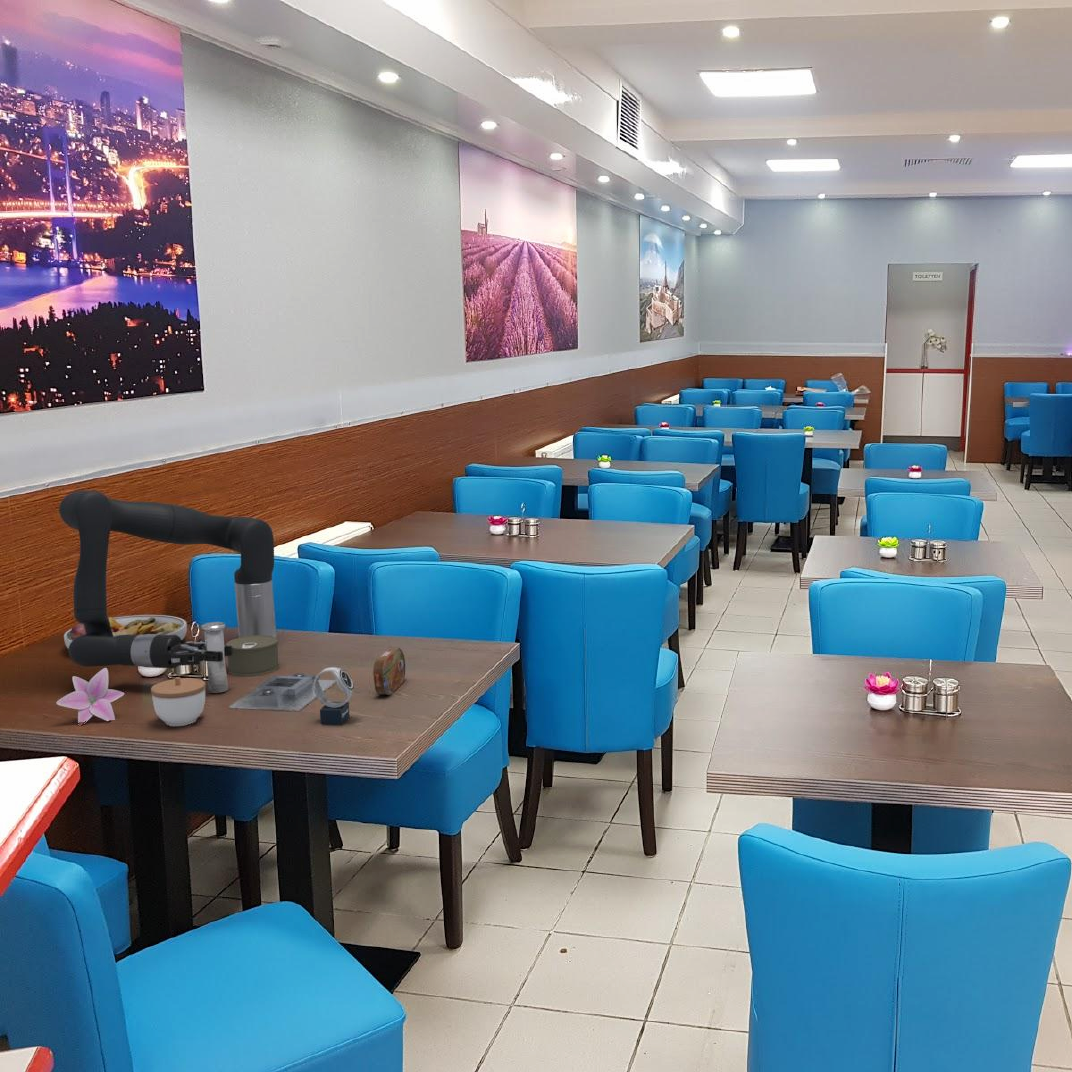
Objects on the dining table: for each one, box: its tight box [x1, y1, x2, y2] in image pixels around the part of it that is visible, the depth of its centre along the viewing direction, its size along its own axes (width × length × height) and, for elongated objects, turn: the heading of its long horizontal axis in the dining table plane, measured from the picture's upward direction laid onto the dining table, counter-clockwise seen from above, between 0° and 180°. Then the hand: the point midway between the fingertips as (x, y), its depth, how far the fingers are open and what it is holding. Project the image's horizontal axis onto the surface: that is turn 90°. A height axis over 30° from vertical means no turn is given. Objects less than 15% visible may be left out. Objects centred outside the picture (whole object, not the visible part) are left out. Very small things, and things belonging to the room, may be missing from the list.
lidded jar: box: [150, 676, 206, 727], centre depth 241 cm, size 11×11×9 cm
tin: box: [372, 647, 406, 696], centre depth 260 cm, size 15×3×8 cm, turn 168°
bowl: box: [63, 614, 188, 650], centre depth 303 cm, size 30×30×8 cm
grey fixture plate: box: [228, 672, 337, 712], centre depth 258 cm, size 21×16×3 cm
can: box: [225, 635, 280, 677], centre depth 278 cm, size 12×12×7 cm
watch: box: [313, 666, 355, 726], centre depth 239 cm, size 6×8×11 cm
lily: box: [56, 667, 125, 723], centre depth 245 cm, size 12×12×10 cm
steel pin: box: [201, 621, 228, 694], centre depth 260 cm, size 5×5×15 cm
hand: (226, 653), depth 260 cm, fingers closed on steel pin, 4 cm apart
